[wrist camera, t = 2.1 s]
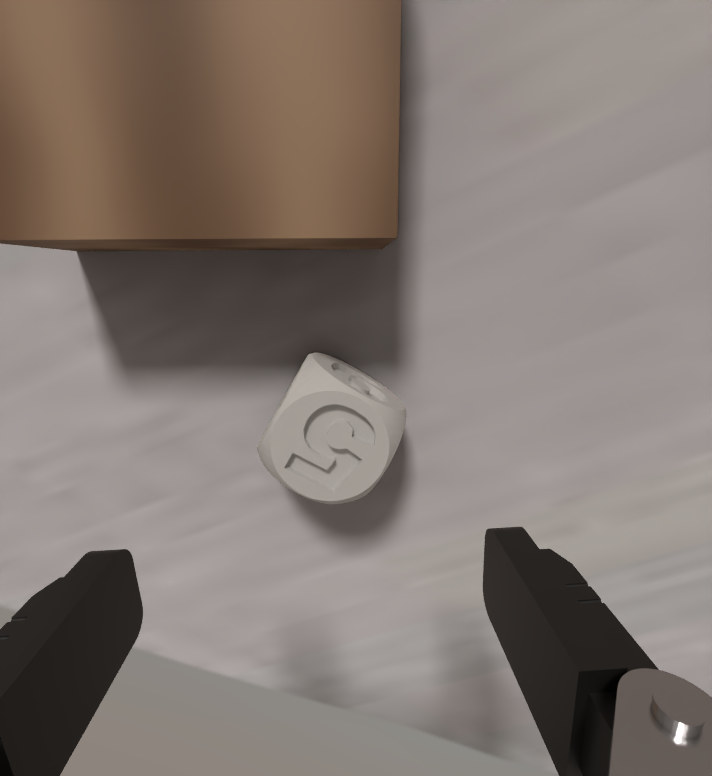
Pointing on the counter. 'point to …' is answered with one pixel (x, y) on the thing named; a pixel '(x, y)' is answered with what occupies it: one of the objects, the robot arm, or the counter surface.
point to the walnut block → (199, 124)
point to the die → (332, 432)
